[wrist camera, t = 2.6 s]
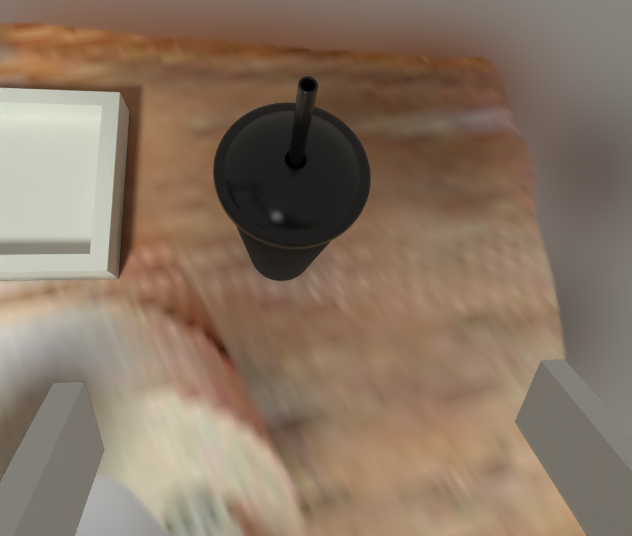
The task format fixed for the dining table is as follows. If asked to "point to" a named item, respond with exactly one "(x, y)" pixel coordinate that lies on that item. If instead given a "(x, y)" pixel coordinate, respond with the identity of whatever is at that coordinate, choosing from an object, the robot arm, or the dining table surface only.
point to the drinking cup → (290, 181)
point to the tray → (61, 183)
